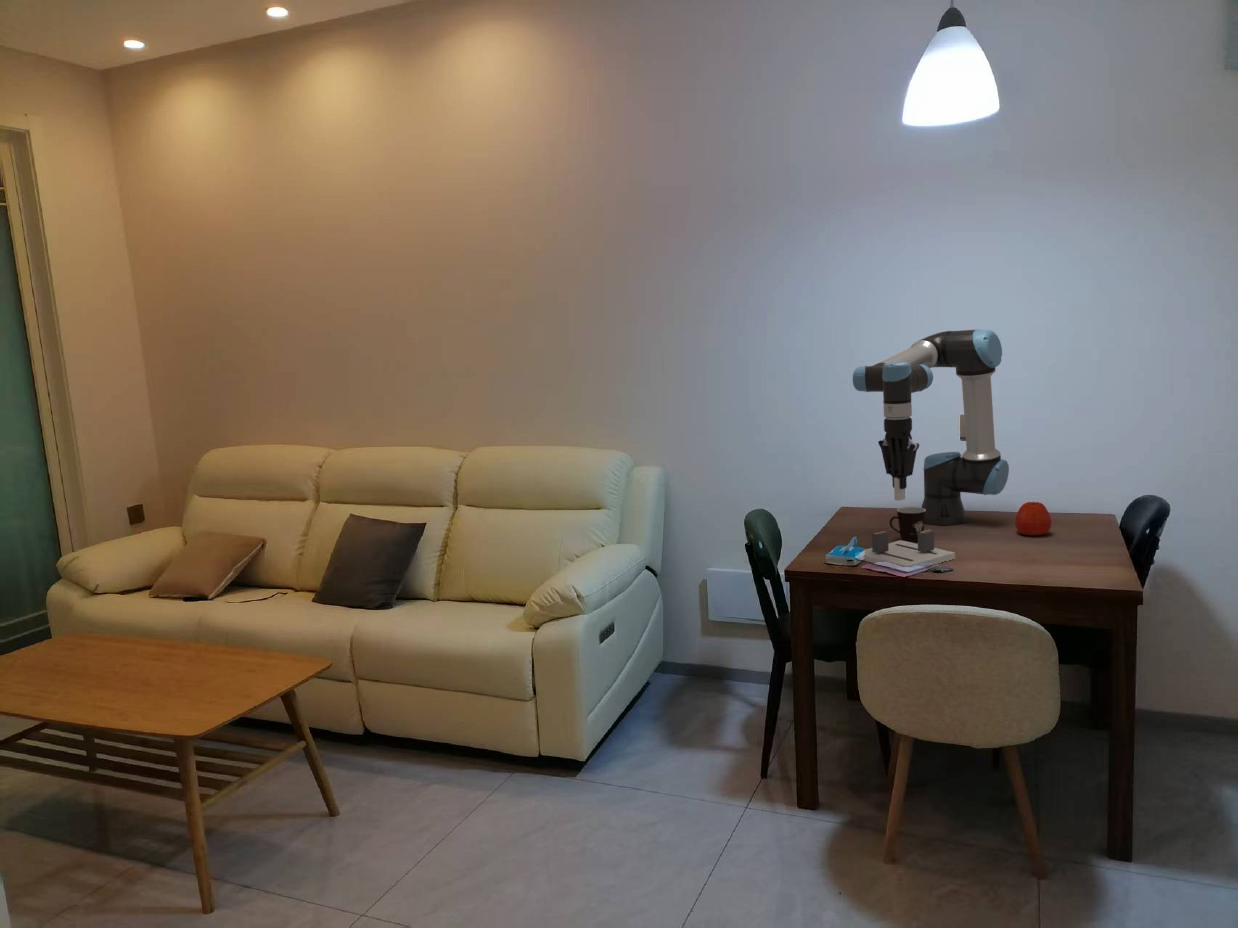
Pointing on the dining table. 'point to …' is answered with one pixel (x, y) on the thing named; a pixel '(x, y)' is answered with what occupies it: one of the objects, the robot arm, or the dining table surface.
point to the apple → (1033, 519)
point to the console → (908, 555)
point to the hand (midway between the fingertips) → (899, 499)
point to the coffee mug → (910, 523)
